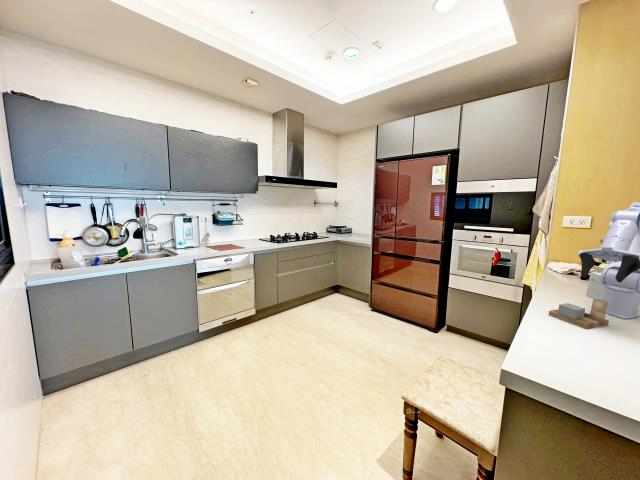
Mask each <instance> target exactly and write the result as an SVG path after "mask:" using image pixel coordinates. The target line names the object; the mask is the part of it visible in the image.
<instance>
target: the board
mask: <svg viewBox="0 0 640 480" xmlns="http://www.w3.org/2000/svg"><path fill="white" fill-rule="evenodd" d="M558 309H559V308H558ZM558 309H551V310H549V311H548V316H550V317H552V318H556V319H558V320H561V321H563V322H566V323H569V324H571V325H574V326H576V327H579V328H582V329H584V330H591V329H595V328H600V327H605V326H608V325H609V321H610V320H609V319H606V318H605V319H604V321H597V320H593V319H591V318H590V313H587V312H585V313H584V318H578V319H573V318H570V317H567V316H565V315H562V314H559V313H558Z"/></svg>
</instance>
